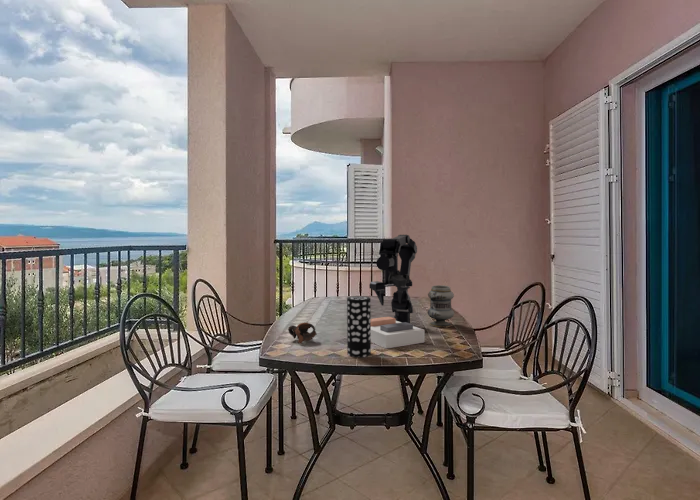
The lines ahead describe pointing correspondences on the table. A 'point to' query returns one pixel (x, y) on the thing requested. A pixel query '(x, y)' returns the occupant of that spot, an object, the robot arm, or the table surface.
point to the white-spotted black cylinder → (358, 326)
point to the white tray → (396, 337)
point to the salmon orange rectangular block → (382, 321)
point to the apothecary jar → (440, 305)
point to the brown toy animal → (302, 332)
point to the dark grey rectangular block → (396, 327)
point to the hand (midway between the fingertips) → (391, 304)
